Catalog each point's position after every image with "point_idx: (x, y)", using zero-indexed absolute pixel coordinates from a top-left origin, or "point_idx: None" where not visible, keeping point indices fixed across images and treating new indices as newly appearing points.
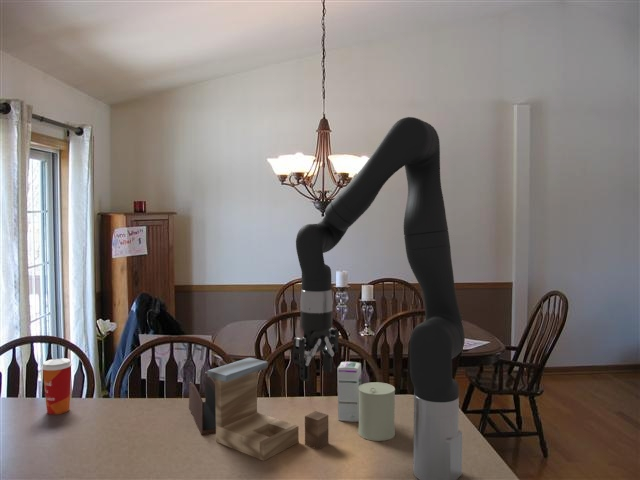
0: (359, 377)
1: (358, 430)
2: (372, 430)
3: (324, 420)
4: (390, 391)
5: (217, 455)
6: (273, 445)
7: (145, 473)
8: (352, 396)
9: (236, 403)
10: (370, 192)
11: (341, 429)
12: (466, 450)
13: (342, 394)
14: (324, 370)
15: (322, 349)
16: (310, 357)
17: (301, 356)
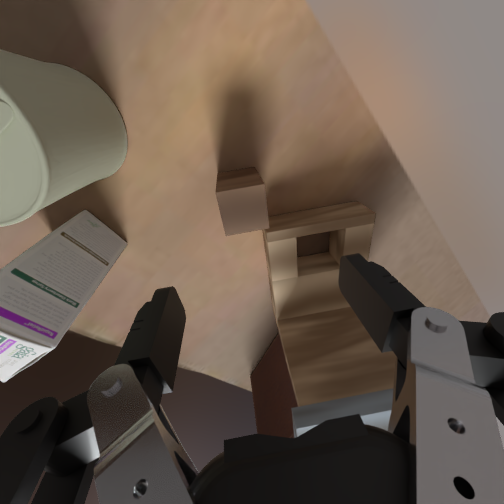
0: None
1: (117, 168)
2: (97, 99)
3: (233, 186)
4: None
5: (378, 261)
6: (340, 212)
7: (461, 273)
8: (62, 251)
9: (339, 338)
10: None
11: (148, 206)
12: None
13: (89, 272)
14: (182, 312)
15: (247, 448)
16: (429, 366)
17: None
